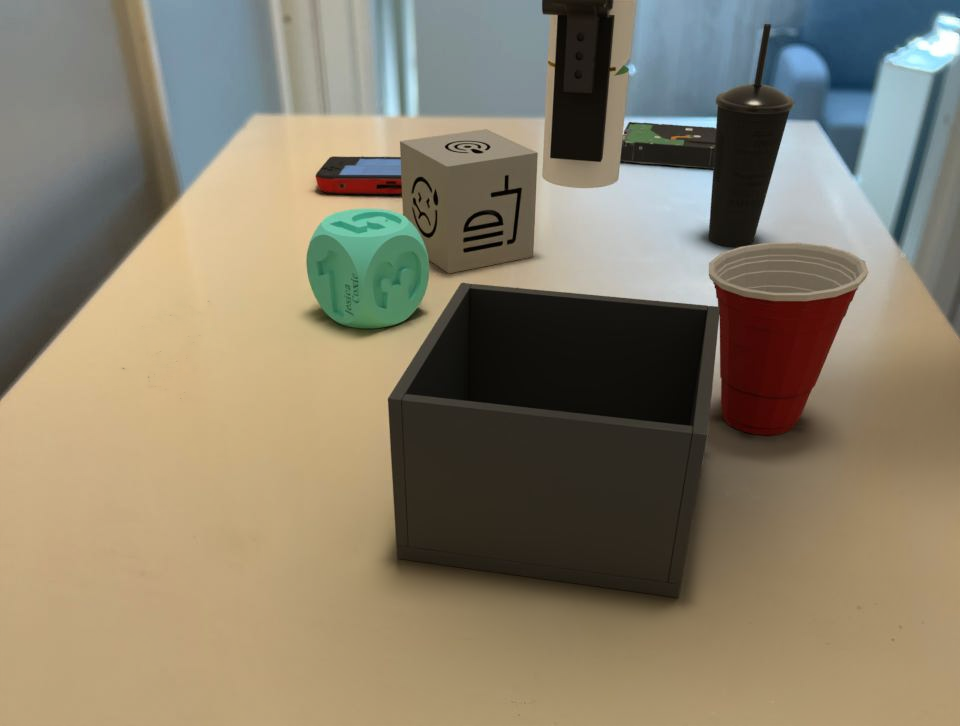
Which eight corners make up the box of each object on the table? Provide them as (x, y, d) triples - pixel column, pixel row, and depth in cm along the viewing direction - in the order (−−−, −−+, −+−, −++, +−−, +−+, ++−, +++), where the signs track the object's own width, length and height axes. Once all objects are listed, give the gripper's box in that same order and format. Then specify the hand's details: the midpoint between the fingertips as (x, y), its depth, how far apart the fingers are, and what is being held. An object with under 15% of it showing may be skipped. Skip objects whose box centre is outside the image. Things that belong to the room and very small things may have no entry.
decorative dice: (309, 311, 91) (300, 221, 86) (375, 288, 96) (370, 201, 91) (365, 337, 87) (359, 244, 82) (432, 311, 92) (429, 222, 86)
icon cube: (533, 256, 103) (537, 152, 96) (448, 273, 99) (447, 166, 92) (485, 228, 109) (486, 129, 103) (404, 243, 105) (399, 141, 99)
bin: (695, 453, 72) (720, 306, 65) (678, 598, 59) (707, 434, 52) (461, 426, 75) (460, 282, 68) (396, 558, 62) (387, 398, 55)
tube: (572, 192, 53) (597, -168, 43) (527, 172, 56) (540, -171, 46) (634, 180, 55) (671, -168, 45) (587, 161, 58) (612, -171, 48)
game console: (442, 167, 127) (441, 148, 125) (434, 198, 117) (434, 178, 116) (330, 164, 127) (328, 146, 126) (313, 195, 118) (311, 175, 116)
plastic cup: (700, 376, 82) (725, 227, 74) (835, 399, 79) (875, 246, 71) (670, 436, 74) (694, 277, 66) (818, 464, 71) (861, 300, 63)
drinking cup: (752, 256, 103) (794, 35, 90) (684, 242, 106) (715, 26, 93) (777, 235, 108) (819, 22, 95) (711, 223, 111) (743, 14, 98)
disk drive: (734, 151, 134) (625, 142, 136) (738, 128, 132) (627, 119, 135) (732, 172, 126) (616, 162, 129) (736, 149, 125) (619, 139, 127)
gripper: (571, -450, 46) (544, 104, 61) (488, -546, 33) (481, 186, 49) (734, -455, 45) (666, 113, 60) (714, -556, 32) (633, 199, 47)
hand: (583, 144), depth 54 cm, fingers closed on tube, 4 cm apart
